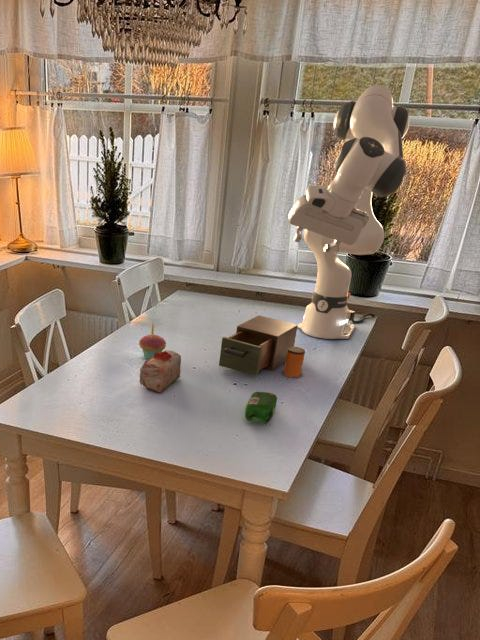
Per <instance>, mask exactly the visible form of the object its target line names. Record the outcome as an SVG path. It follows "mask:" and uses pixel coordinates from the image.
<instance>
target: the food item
mask: <svg viewBox="0 0 480 640" xmlns="http://www.w3.org/2000/svg"><path fill="white" fill-rule="evenodd" d="M149 359H150V358H149ZM149 359H145V361H144V363H143V364H142V366H141V368H140V369H139V371H140V373H139V384H140V385H141V386H142V387H144V388H146V389H147V390H150V391H153V392H157V393H162V392H163V391H164V390H165V389H167V388H168V387H169V386H170V385H171V384H173V383H174V382H176V381H177V380H178V379H180V377H181V371H182V369H181V368H182V367H181V365H182V355H180V354H179V353H178V352H176V351H173V350H169V349H168V350H167V349H164V350H163V351H162V352H159V353H158V352H157V351H156V350H155V351H154V358H152V359H151V360H149Z"/></svg>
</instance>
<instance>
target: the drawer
mask: <svg viewBox="0 0 480 640" xmlns="http://www.w3.org/2000/svg"><path fill="white" fill-rule="evenodd" d="M273 345H274V338H270V337H266V336H263V335H259V334H255V333H251V332H247V331H243V330H242V331H240V332H238V333H234V334H232V335H230V336H228V337H226V336H223V337H221V346H220V352H219V353H220V354H219V360H218V366H219V367H222V368H225V369H226V368H227V369H230V370H232V371H236V372H240V373H243V374H246V375H250V376H253V377H256V376H258V374H259V372H260V371H261V370H263V369H265V368H264V367H266V366H268V365H269V364H270V363H271V357H272V351H273Z"/></svg>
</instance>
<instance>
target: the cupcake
mask: <svg viewBox="0 0 480 640" xmlns="http://www.w3.org/2000/svg"><path fill="white" fill-rule="evenodd" d="M154 328H155V324H154V322H152V323H151V329H150V330H151V333H150V334H147V335H145V336H142V337H141V338H140V339H139V341H138V346H139V347H140V348H141V349H142V352H143V357H144V358H145V360H148V359H149V358H150V359H149V360H151V359H152V358H154V351H155V350H156V351H157V352H158V353H159V352H163V351H164V350H166V346H167V342H166V340H165V339H164V337H162V336H160V335H158V334H154V330H155V329H154Z"/></svg>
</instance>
